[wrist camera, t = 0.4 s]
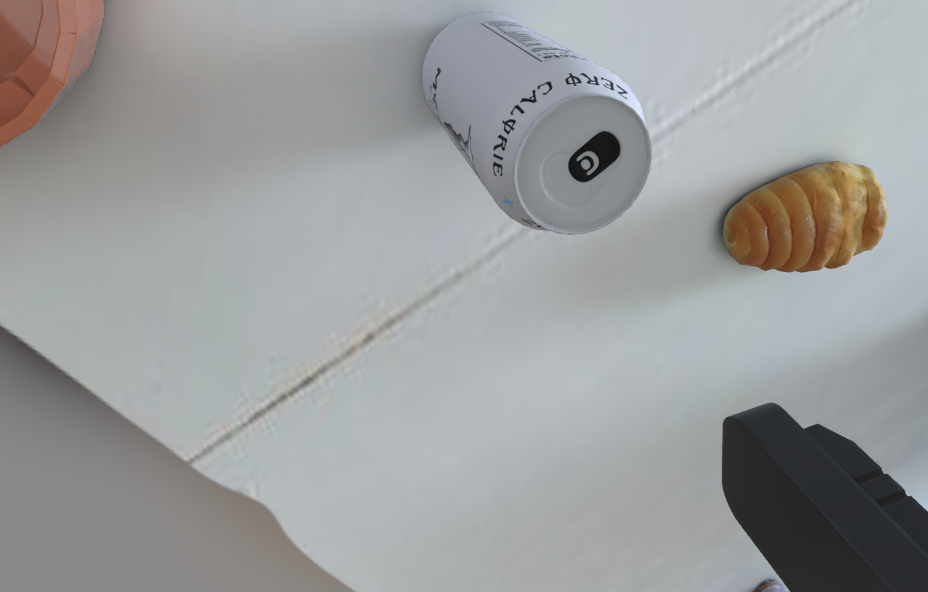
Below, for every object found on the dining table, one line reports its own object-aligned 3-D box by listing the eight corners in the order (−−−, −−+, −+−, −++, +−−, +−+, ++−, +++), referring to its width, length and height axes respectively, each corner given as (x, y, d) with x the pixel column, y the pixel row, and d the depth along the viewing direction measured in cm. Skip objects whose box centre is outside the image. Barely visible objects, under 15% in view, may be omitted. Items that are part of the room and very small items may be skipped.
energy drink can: (393, 66, 35) (458, 163, 22) (487, -18, 34) (610, 32, 21) (467, 153, 38) (561, 282, 25) (555, 77, 37) (698, 172, 24)
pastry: (714, 276, 46) (747, 305, 43) (718, 179, 42) (754, 202, 39) (844, 244, 47) (886, 269, 44) (858, 147, 44) (905, 167, 40)
